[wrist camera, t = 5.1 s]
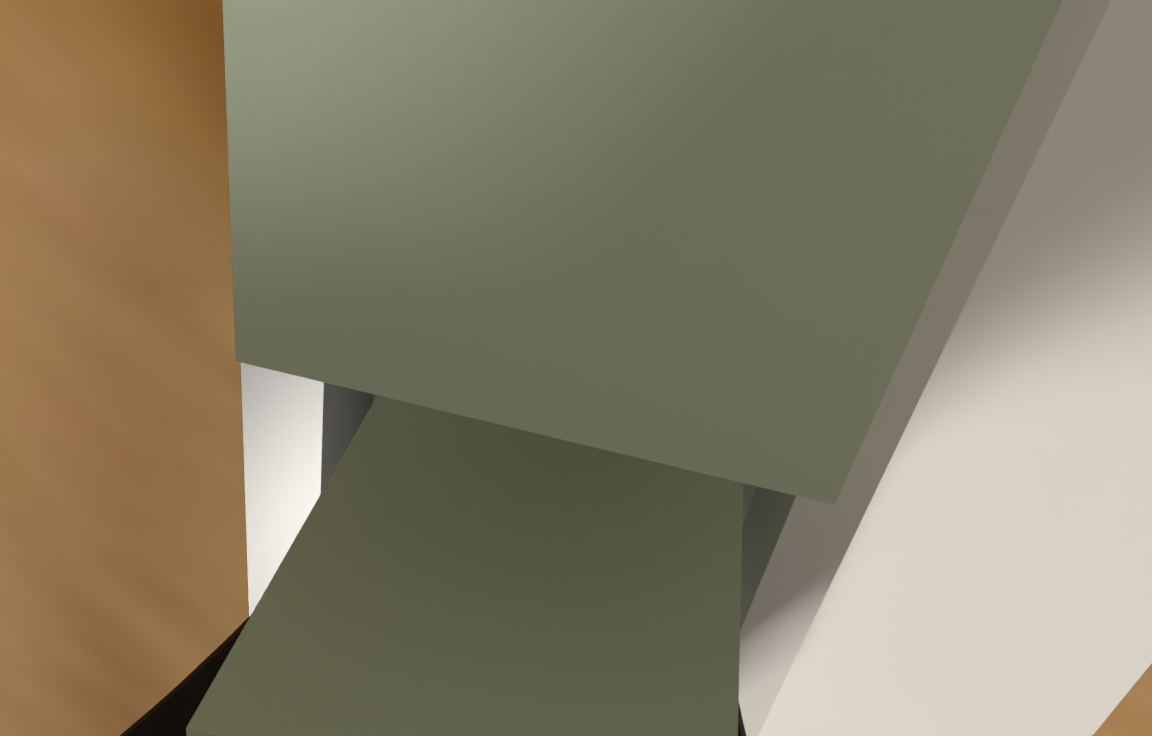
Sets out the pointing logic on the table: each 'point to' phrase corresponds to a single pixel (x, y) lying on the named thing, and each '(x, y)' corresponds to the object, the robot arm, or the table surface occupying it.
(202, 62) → the table surface
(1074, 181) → the shelf board
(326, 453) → the rail
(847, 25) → the faced carton
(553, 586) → the carton
